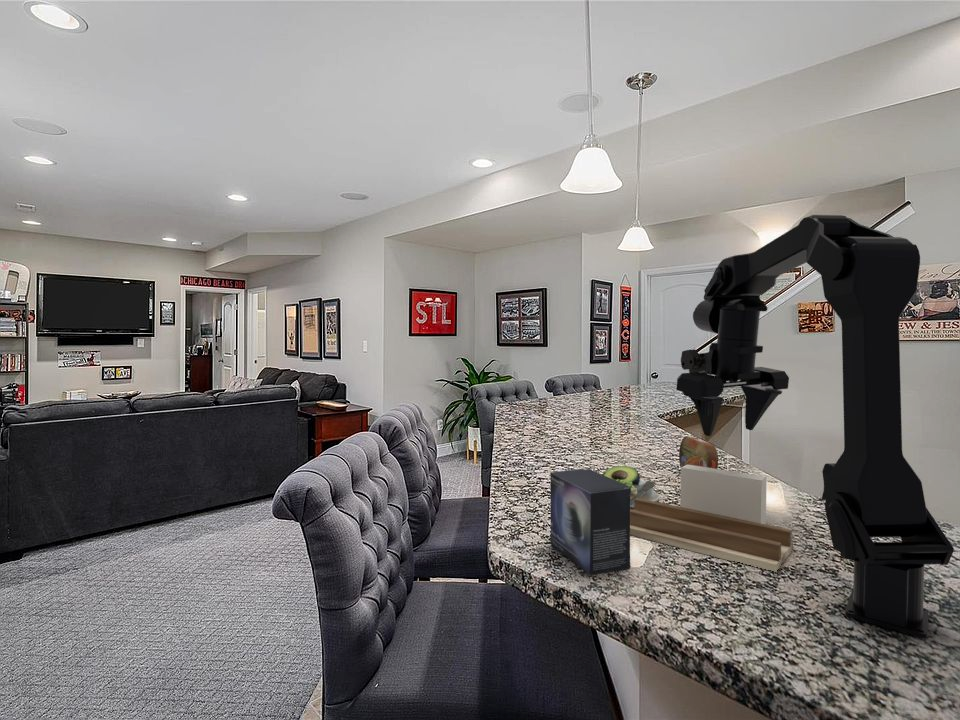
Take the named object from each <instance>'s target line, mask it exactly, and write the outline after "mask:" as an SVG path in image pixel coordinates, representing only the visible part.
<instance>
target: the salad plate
mask: <svg viewBox="0 0 960 720" xmlns="http://www.w3.org/2000/svg"><path fill="white" fill-rule="evenodd" d="M602 475H604V476H606V477H609V478H611V479H613V480H616V481H618V482H620V483H623V484H625V485H627V486H630V487H631V495H630V509H633V510H634V500H635V499H637V498H640V499H645V500H650V501H655V502H660V498H661V496H660V494H658V493H657V492H656V491H655V490H654V489H653V488H654V487H655V485H656V482H655V481H653V480H647V481H643V480H641V477H640V473H639V472H638V470H637V469H636V468H634V467H632V466H629V465H628V466H627V465H621V466H620V465H619V466H612V467H610V468H607V469H606V470H605V471H604V470H603V474H602Z"/></svg>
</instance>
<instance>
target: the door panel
mask: <svg viewBox="0 0 960 720" xmlns="http://www.w3.org/2000/svg"><path fill="white" fill-rule="evenodd" d="M767 478H768V477H767V476H764V475H758V474H752V473H746V472H741V471H734V470H733V471H732V470H726V469H719V468H718V469H714V468H707V467H701V466H694V465H685V466H683V467H681V468H680V494H679V495H680V497H679V499H680V502H679V503H680V504H679V505H680V506H679V507H683V508H688V509H693V510H698V511H703V512H708V513H712V514H717V515H722V516H727V517H732V518H736V519H741V520H746V521H751V522H756V523H761V524H765V525H767V523H766V522H767V480H768V479H767Z"/></svg>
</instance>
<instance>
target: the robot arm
mask: <svg viewBox="0 0 960 720" xmlns="http://www.w3.org/2000/svg"><path fill="white" fill-rule="evenodd" d="M804 264H808V266H810V267H811V268H812V269H813V270H815V271H816V272H817V273H818V274H819V275H821V277H820V278H821V281H822V290H823V295H824V298H825V300H826V301H827V303H828V304H829V306H830V307H831V308H832V310H833V311H834V313H835V314H836V315H837V317H838V318H839V319H840V321H841V351H842V353H841V354H842V359H841V360H842V393H843V394H842V395H843V396H842V397H843V399H842V401H843V402H842V403H843V442H844V443H843V444H844V449H843V452H842V454H840V456H839V457H838V460H836V462H835V463H827V462H826V463H825V464H824V465H823V468H822V471H821V472H822V479H823V490H822V491H823V492H822V496H821V500H823V501H825V502H824V510H825V515H826V520H827V523H828V524H827V525H828V528H829V529H828V530H829V533H830V539H831V542H832V547H833V549H834V550H835V551H837V552H839V553H840V557H841V558H843V559H845V560H849V561H853V590H851V592H850V595H849V599H848V601H847V604H846V606H845V608H844V615H845V616H846V617H848V618H852V619H856V620H858V621H862V622H866V623H869V624H873V625H875V626H878V627H879V626H880V627H882V628H886V629H889V630H892V631H897V632H900V633H904V634H908V635H911V636H915V637H917V638H922V639H927V638H928V636H929V635H928V633H929V613H930V612H929V610H928V609H926V607H925V608H924V595H925V594H924V589H925V565H940V566H948V565H949V562H950V560H951V558H952V556H953V554H954V551H955V548H954V546H953V545H952V543H951V542H950V540H949V539H948V538H947V536H946V534H945V533H944V531H943V530H942V528H941V527H940V525H939V524H938V522H937V521H936V520H935V518H934V517H933V515H932V513H931V512H930V511H929V510H928V507H927V505H926V500H925V494H924V489H923V482H922V480H921V479H920V477H919V476H918V475H917V473H916V472H915V470H914V469H913V467H912V466H911V465H910V463H909V462H908V460H907V459H906V458H905V457H904V454H903V434H902V433H903V432H902V431H903V429H902V423H903V422H902V397H901V396H902V393H901V387H902V386H901V351H900V349H901V348H900V346H901V345H900V317H901V315H902V314H903V312H904V311H905V310H906V307H908V305H909V304H910V302H911V300H912V299H913V297H914V296H915V295H916V293H917V290H918V282H919V274H920V265H921V255H920V250H919V247H918V246H917V245H916V244H914V243H912V241H910V240H909V239H908V238H904V237H901V236H893V235H891V234H889V233H886V232H883V231H882V230H881V231H880V230H878V229H875V228H871V227H869V226H867V225H863V224H860V223H858V222H857V221H856V220H855V219H852V218H851V217H847V216H845V215H842V214H811V215H809V216H806V217H804V218H802V219H801V220H800V221H799V223H798V224H797V225H796V226H794V227H792V228H791V229H789V230H788V231H786V232H784V233H783V234H781V235H779V236H778V237H776V238H775V239H773V240H771V241H770V242H768V243H766V244H765V245H763V246H762V247H760V248H758V249H757V250H755V251H753V252H750V253H749V252H748V253H742V254H737V255H736V254H735V255H732V256H728V257H726V258H723V259H722V260H721V261H720V262H719V264H718V265H717V267H716V268H715V269H714V272H713V274H712V277H711V278H710V280H709V282H708V284H707V285H706V287H705V288H704V290H703V291H704V295H703V300H702V301H700V302H699V303H698V304H697V305H696V307H695V308H694V311H693V313H692V319H693V322H694V325H695V326H696V327H697V328H698V329H699V330H701V331H703V332H709V333H713V334H717V341H716V342H710V345H709V349H708V352H701V353H699V352H698V351H697V350H696V349H695V348H694V349H686V350H683V351H682V350H681V357H680V365H681V368H682V370H684V371H686V370H688V372H682V373H681V374H680V375H678V377H677V379H676V391H678V392H682V394H683V396H686V397H689V399H690V400H691V401H692V402H693V404H694V406H695V409H696V413H697V414H698V418H699V422H700V425H701V428H702V432H703V434H704V436H705V437H706V436H707V437H711V436H712V434H713V432H714V429H715V427H716V424H717V420H718V417H719V414H720V411H721V408H722V405H723V401H724V397H721V396H720V395H721V394H722V393H723V392H724V389H726V388H734V387H740V389H741V390H742V392H743V394H744V396H745V413H744V416H745V417H744V423H745V429H746V430H748V431H753V430H754V428H755V427H756V426H757V425H758V423H759V422H760V420H761V419H762V417H763V415H764V414H765V413H766V411H767V410H768V409H769V407H770V406H771V405H772V404H773V402H774V401H775V400H776V399H777V397H778V396H779V395H782V394H783V391H782V390H788V388H789V382H790V377H789V375H788V374H787V373H786V372H785V370H781V369H780V370H779V369H775V368H769V367H765V366H756V356H757V355H756V354H759V353H760V354H761V353H763V350H764V346H763V345H759V344H758V338H759V337H758V336H759V325H760V317H761V316H760V314H761V312H768V306H767V304H766V303H765V302H764V301H762V299H761V298H760V296H763V295H764V294H766V293H767V292H768V291H770V290H771V289H773V287H774V286H775V285H776V283H777V281H776V280H777V278H779V277H780V276H781V275H784V274H786V273H788V272H790V271H792V270H794V269H796V268H797V267H800V266H802V265H804ZM872 538H873V539H874V538H900V539H901V541H876V542H875V541H873V540H872Z"/></svg>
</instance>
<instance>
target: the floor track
mask: <svg viewBox="0 0 960 720" xmlns="http://www.w3.org/2000/svg"><path fill="white" fill-rule="evenodd" d="M792 531H793V530H792V529H789V528H784V527H779V526H775V525H770V524H766V525H765V524H761V523H756V522H751V521H746V520H741V519H736V518H732V517H727V516H722V515H717V514H712V513H708V512H703V511H698V510H693V509H688V508H683V507H680V506H678V505H673V504H668V503H663V502H660V501H658V502H655V501H650V500H645V499H640V498H637V499H635V500H634V509H630V536H633V537H637V538H641V539H643V540H648V541H653V542H656V543H660V544H664V545H668V546H671V547H676V548H680V549H684V550H687V551H691V552H695V553H698V554H703V555H706V556H710V555H711V557H713V558H718V559H723V560H726V561H730V562H733V561H735V562H734V563H737V562H740V563H739V564H741V563H743V564H742V565H745V564H747V565H746V566H748V565H751V566H750V567H752V566H754V567H753V568H756V567H758V568H757V569H760V568H762V569H761V570H764V569H766V570H765V571H768V570H771V571H770V572H772V571H774V572H773V573H775V572H776V573H778V571H779V570H780V568H781V567H782V565H783V564H784V563H783V562H785V561H786V560H787V559H788V557H789V556H790V554H791V553H792V552H791V551H793V550H794V541H792V535H793V534H792V533H793V532H792ZM790 552H791V553H790ZM788 555H789V556H788ZM787 556H788V557H787ZM785 559H786V560H785ZM782 563H783V564H782ZM781 564H782V565H781ZM780 566H781V567H780ZM778 569H779V570H778ZM777 570H778V571H777Z"/></svg>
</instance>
